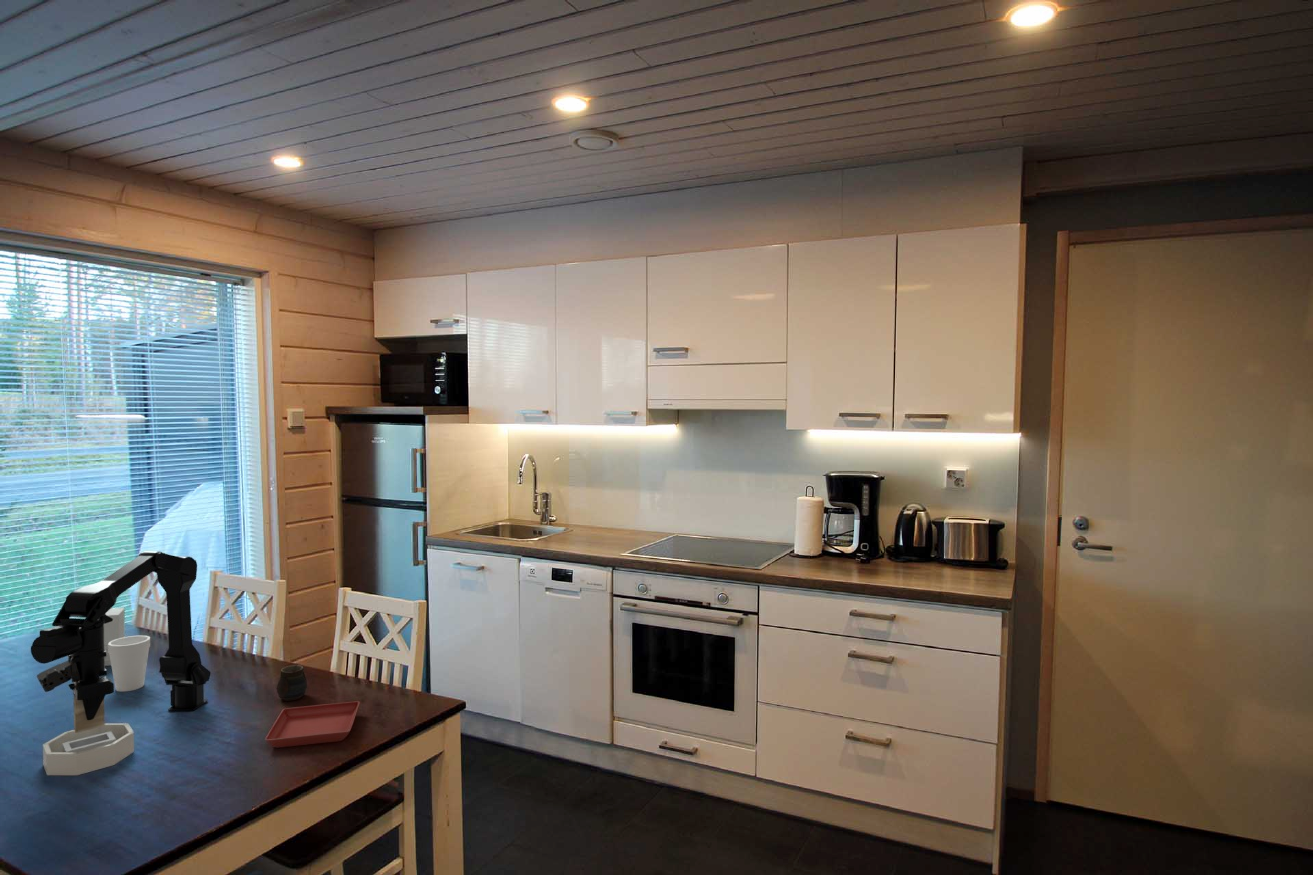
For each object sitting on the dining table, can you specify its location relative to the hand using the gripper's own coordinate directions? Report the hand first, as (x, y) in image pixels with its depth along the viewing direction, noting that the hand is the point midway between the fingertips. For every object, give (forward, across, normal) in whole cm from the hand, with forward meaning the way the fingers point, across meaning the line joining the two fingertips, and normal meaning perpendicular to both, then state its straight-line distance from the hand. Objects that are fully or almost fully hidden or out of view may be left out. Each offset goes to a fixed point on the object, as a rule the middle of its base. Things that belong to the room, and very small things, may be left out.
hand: (89, 717), depth 158 cm
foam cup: (+9, -43, +15) cm, 46 cm away
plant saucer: (+10, +21, +40) cm, 46 cm away
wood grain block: (+2, 0, 0) cm, 2 cm away
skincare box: (+9, -71, +15) cm, 73 cm away
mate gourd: (+9, -4, +44) cm, 45 cm away
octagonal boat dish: (+9, 0, 0) cm, 9 cm away
